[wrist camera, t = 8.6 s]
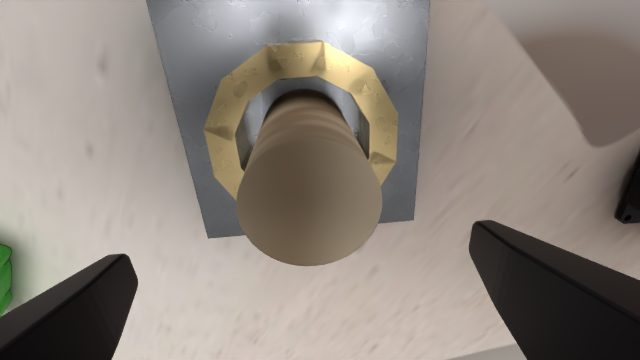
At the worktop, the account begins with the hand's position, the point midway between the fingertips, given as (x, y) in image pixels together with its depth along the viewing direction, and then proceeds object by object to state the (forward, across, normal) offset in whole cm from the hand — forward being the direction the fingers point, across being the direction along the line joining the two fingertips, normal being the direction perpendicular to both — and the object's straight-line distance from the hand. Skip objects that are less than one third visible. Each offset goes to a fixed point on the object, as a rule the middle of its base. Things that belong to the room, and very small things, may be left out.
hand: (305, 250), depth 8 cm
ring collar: (+12, 0, 0) cm, 12 cm away
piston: (+11, 0, 0) cm, 11 cm away
